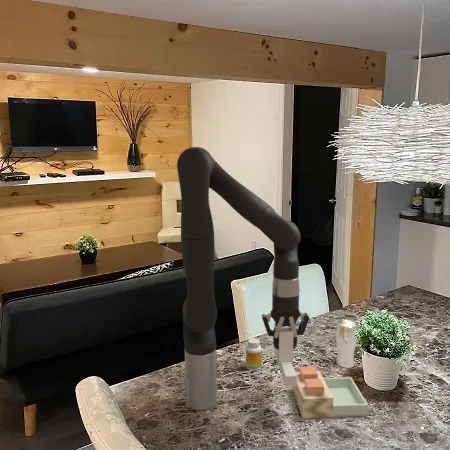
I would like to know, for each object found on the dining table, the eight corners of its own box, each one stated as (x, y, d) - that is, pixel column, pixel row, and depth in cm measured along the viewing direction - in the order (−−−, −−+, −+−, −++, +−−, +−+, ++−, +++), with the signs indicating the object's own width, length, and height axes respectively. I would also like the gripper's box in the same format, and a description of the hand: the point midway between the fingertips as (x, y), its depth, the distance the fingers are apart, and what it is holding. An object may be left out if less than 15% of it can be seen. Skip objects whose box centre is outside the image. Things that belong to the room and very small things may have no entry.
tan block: (302, 418, 128) (303, 399, 127) (292, 389, 143) (292, 371, 141) (332, 417, 128) (333, 398, 127) (319, 388, 143) (319, 370, 142)
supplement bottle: (260, 371, 154) (260, 344, 152) (244, 369, 155) (244, 343, 153) (262, 363, 159) (262, 337, 157) (247, 362, 160) (247, 336, 158)
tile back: (302, 382, 135) (302, 374, 135) (299, 374, 140) (299, 367, 139) (317, 381, 136) (318, 374, 135) (314, 374, 140) (314, 366, 140)
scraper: (283, 386, 123) (284, 345, 121) (272, 352, 143) (272, 316, 140) (298, 386, 123) (299, 345, 121) (285, 351, 143) (285, 315, 140)
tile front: (308, 395, 129) (308, 387, 128) (304, 386, 133) (304, 379, 132) (323, 394, 129) (324, 386, 128) (319, 386, 133) (320, 378, 133)
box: (332, 417, 128) (333, 406, 128) (319, 388, 143) (319, 378, 142) (367, 416, 129) (368, 404, 128) (350, 387, 143) (351, 377, 143)
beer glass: (357, 361, 160) (359, 321, 157) (353, 370, 154) (355, 328, 151) (337, 357, 163) (338, 318, 160) (333, 366, 157) (334, 325, 154)
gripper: (307, 286, 132) (306, 341, 136) (259, 288, 132) (258, 343, 135) (313, 295, 125) (312, 353, 128) (262, 297, 124) (262, 355, 128)
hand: (284, 347), depth 132 cm, fingers closed on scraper, 4 cm apart
